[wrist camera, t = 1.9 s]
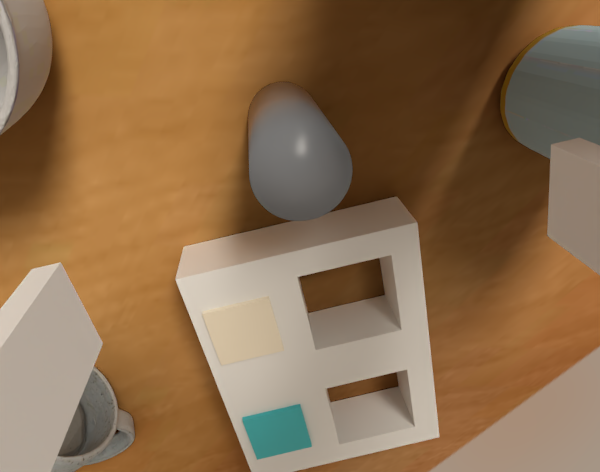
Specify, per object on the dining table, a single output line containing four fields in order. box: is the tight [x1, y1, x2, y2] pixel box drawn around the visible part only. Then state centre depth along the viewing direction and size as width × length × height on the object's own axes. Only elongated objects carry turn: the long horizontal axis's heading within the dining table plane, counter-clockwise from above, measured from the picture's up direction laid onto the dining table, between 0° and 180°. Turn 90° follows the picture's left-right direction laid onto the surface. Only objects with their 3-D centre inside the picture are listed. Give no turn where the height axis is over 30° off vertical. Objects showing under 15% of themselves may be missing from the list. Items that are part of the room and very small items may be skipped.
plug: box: [248, 82, 353, 221], centre depth 22 cm, size 4×4×10 cm
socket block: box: [175, 196, 439, 472], centre depth 32 cm, size 14×18×4 cm
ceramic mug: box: [51, 367, 135, 472], centre depth 31 cm, size 11×8×8 cm
